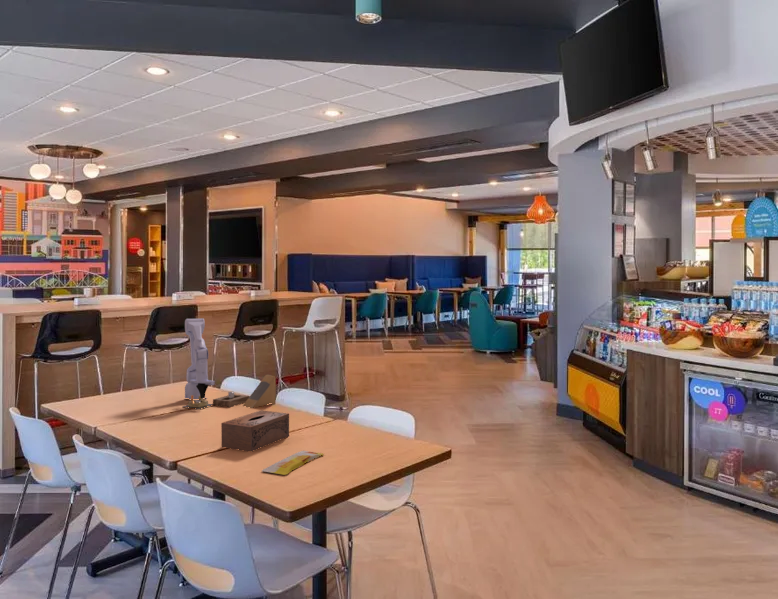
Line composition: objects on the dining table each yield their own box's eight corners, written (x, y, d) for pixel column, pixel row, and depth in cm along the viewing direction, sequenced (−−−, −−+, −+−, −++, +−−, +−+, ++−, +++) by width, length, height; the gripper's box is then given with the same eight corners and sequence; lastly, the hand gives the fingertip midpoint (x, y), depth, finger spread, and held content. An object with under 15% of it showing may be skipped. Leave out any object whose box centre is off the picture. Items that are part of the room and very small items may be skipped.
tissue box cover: (250, 452, 240) (250, 427, 239) (221, 447, 246) (221, 422, 246) (289, 436, 263) (289, 413, 263) (261, 432, 269) (261, 410, 269)
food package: (284, 471, 211) (260, 467, 215) (284, 478, 211) (260, 474, 215) (325, 450, 236) (302, 447, 240) (325, 456, 236) (302, 453, 240)
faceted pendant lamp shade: (186, 406, 315) (186, 399, 314) (193, 402, 325) (193, 394, 325) (204, 407, 314) (204, 399, 314) (210, 402, 325) (210, 395, 325)
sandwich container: (241, 406, 322) (241, 377, 321) (266, 401, 333) (266, 374, 332) (251, 408, 316) (251, 379, 315) (275, 404, 327) (275, 376, 326)
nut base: (181, 407, 317) (181, 397, 316) (196, 403, 327) (196, 394, 326) (199, 409, 312) (199, 399, 312) (213, 405, 322) (213, 396, 322)
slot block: (212, 405, 323) (212, 399, 323) (232, 399, 337) (232, 394, 337) (230, 407, 318) (229, 401, 318) (249, 401, 333) (249, 395, 333)
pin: (227, 403, 327) (227, 392, 327) (230, 402, 330) (230, 391, 329) (231, 404, 326) (231, 392, 326) (235, 403, 329) (235, 391, 328)
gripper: (185, 372, 321) (186, 398, 322) (207, 373, 315) (208, 400, 316) (194, 370, 327) (195, 395, 328) (216, 371, 322) (217, 397, 322)
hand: (202, 398), depth 322 cm, fingers closed, pressing on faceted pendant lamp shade
